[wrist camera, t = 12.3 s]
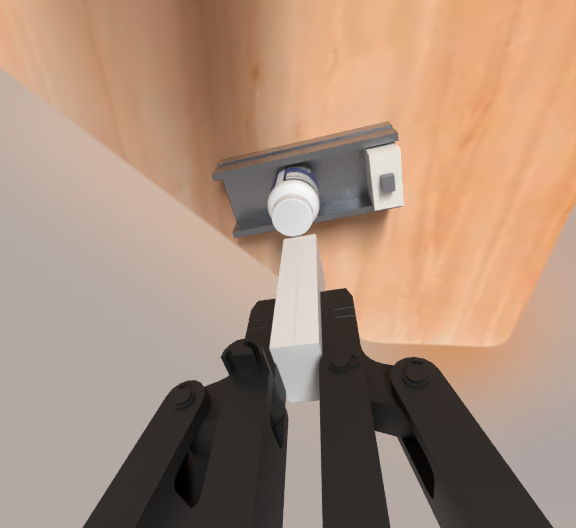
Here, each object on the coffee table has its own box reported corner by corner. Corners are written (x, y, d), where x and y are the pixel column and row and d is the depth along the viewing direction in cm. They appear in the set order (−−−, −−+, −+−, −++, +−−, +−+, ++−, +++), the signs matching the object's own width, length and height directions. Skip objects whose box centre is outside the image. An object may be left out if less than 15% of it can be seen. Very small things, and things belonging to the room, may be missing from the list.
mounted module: (362, 143, 37) (370, 157, 32) (390, 137, 37) (402, 151, 32) (368, 194, 40) (376, 214, 35) (393, 189, 40) (405, 209, 35)
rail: (221, 160, 41) (210, 172, 37) (388, 121, 38) (397, 130, 33) (241, 221, 45) (234, 239, 41) (393, 192, 42) (402, 208, 38)
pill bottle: (290, 213, 42) (286, 252, 34) (264, 179, 40) (252, 212, 32) (327, 189, 40) (331, 225, 32) (301, 152, 38) (298, 180, 30)
